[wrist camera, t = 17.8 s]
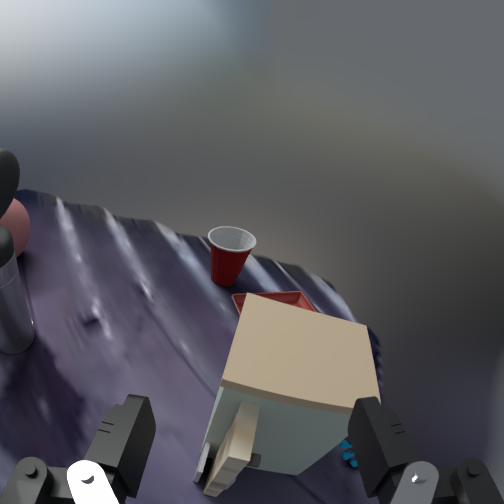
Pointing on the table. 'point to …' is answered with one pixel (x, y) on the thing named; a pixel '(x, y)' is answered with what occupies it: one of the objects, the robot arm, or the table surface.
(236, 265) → the plastic cup
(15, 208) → the balloon
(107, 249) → the table surface
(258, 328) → the cabinet
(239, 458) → the tall wooden plank
